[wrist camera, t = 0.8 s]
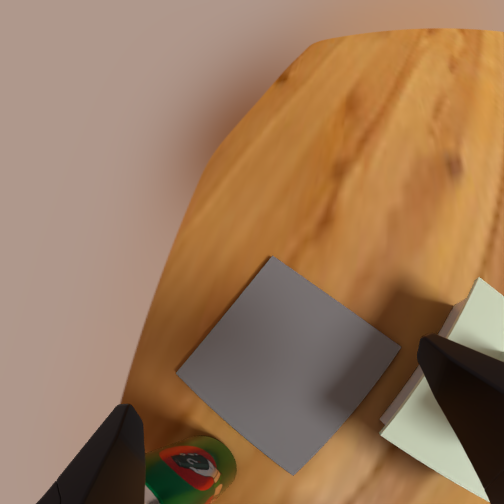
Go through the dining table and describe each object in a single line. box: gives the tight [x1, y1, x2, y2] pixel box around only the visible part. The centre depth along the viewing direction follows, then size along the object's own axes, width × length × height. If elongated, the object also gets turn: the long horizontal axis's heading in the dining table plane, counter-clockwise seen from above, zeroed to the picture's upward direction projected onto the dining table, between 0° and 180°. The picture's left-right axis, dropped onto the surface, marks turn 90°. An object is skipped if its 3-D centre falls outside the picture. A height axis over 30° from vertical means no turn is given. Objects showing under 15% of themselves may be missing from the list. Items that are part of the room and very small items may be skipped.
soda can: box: [145, 436, 237, 504], centre depth 14 cm, size 5×5×12 cm
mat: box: [176, 256, 401, 476], centre depth 21 cm, size 12×12×1 cm
